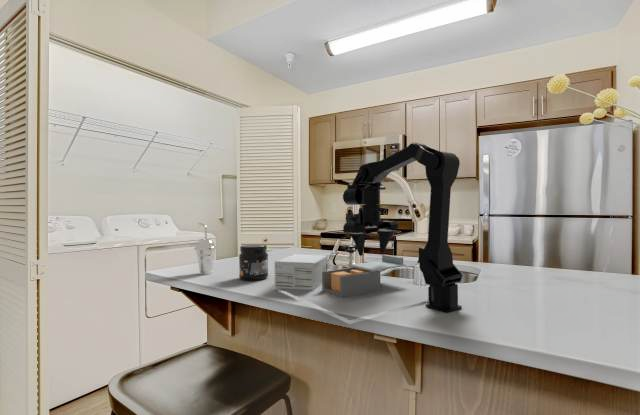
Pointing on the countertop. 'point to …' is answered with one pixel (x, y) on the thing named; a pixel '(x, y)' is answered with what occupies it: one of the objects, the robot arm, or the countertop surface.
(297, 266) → the supplement box
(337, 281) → the block
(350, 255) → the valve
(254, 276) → the supplement container
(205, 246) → the cup with straw
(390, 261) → the lid
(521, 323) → the countertop surface
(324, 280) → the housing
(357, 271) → the block
